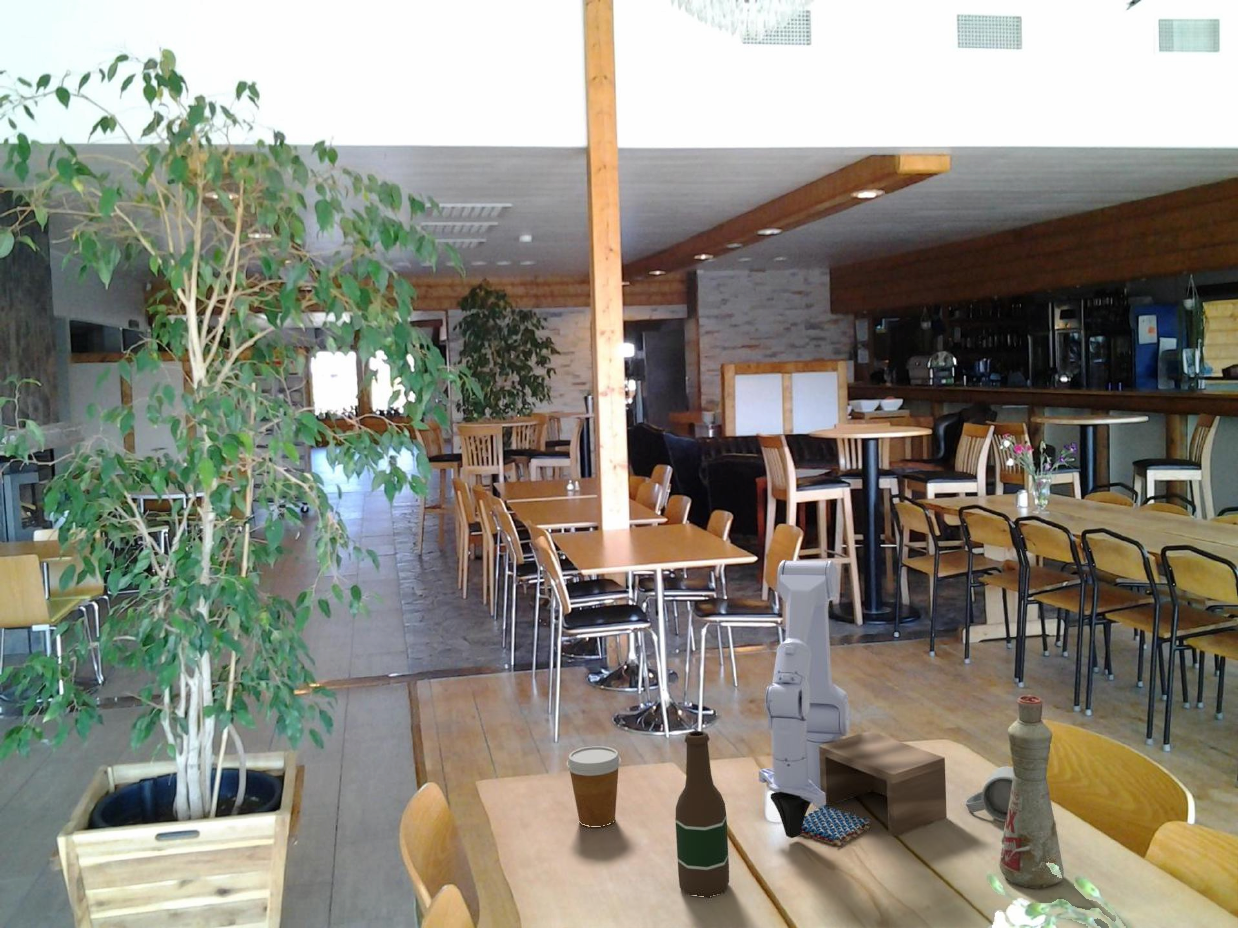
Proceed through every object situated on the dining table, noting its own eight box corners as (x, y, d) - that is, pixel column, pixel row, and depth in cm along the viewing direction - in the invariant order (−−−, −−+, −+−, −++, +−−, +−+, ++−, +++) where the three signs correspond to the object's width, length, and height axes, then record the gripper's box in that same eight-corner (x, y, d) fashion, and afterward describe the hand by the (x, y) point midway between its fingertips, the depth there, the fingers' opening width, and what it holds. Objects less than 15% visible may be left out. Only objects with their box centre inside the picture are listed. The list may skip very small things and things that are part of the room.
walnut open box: (821, 803, 204) (819, 745, 203) (871, 786, 211) (869, 731, 210) (895, 836, 189) (893, 774, 188) (946, 817, 195) (944, 757, 194)
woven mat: (874, 829, 194) (874, 817, 193) (838, 850, 186) (837, 838, 186) (823, 813, 201) (823, 802, 201) (786, 833, 194) (785, 822, 194)
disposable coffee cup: (561, 828, 200) (557, 761, 199) (583, 807, 209) (579, 743, 207) (612, 834, 196) (608, 766, 195) (632, 812, 205) (628, 747, 204)
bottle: (1057, 896, 166) (1053, 707, 163) (993, 883, 171) (988, 700, 168) (1069, 871, 173) (1065, 690, 171) (1007, 860, 178) (1003, 683, 176)
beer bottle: (675, 877, 179) (667, 727, 176) (725, 873, 179) (717, 723, 177) (682, 901, 171) (674, 744, 169) (734, 896, 172) (726, 739, 169)
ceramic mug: (1032, 805, 198) (1030, 762, 198) (1030, 824, 191) (1028, 779, 190) (968, 800, 202) (966, 758, 202) (963, 819, 195) (961, 775, 194)
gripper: (743, 748, 192) (746, 827, 193) (800, 773, 180) (803, 856, 181) (776, 739, 196) (779, 816, 197) (834, 762, 183) (837, 844, 185)
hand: (793, 835), depth 189 cm, fingers closed
